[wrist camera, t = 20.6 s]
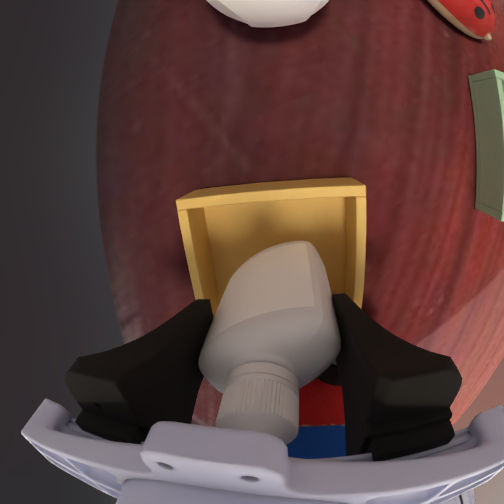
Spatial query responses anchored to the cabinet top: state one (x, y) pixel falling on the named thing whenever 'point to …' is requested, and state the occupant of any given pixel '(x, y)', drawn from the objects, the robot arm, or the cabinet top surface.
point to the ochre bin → (274, 230)
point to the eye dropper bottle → (271, 339)
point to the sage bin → (489, 140)
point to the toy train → (320, 418)
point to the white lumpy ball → (268, 11)
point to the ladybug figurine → (468, 16)
